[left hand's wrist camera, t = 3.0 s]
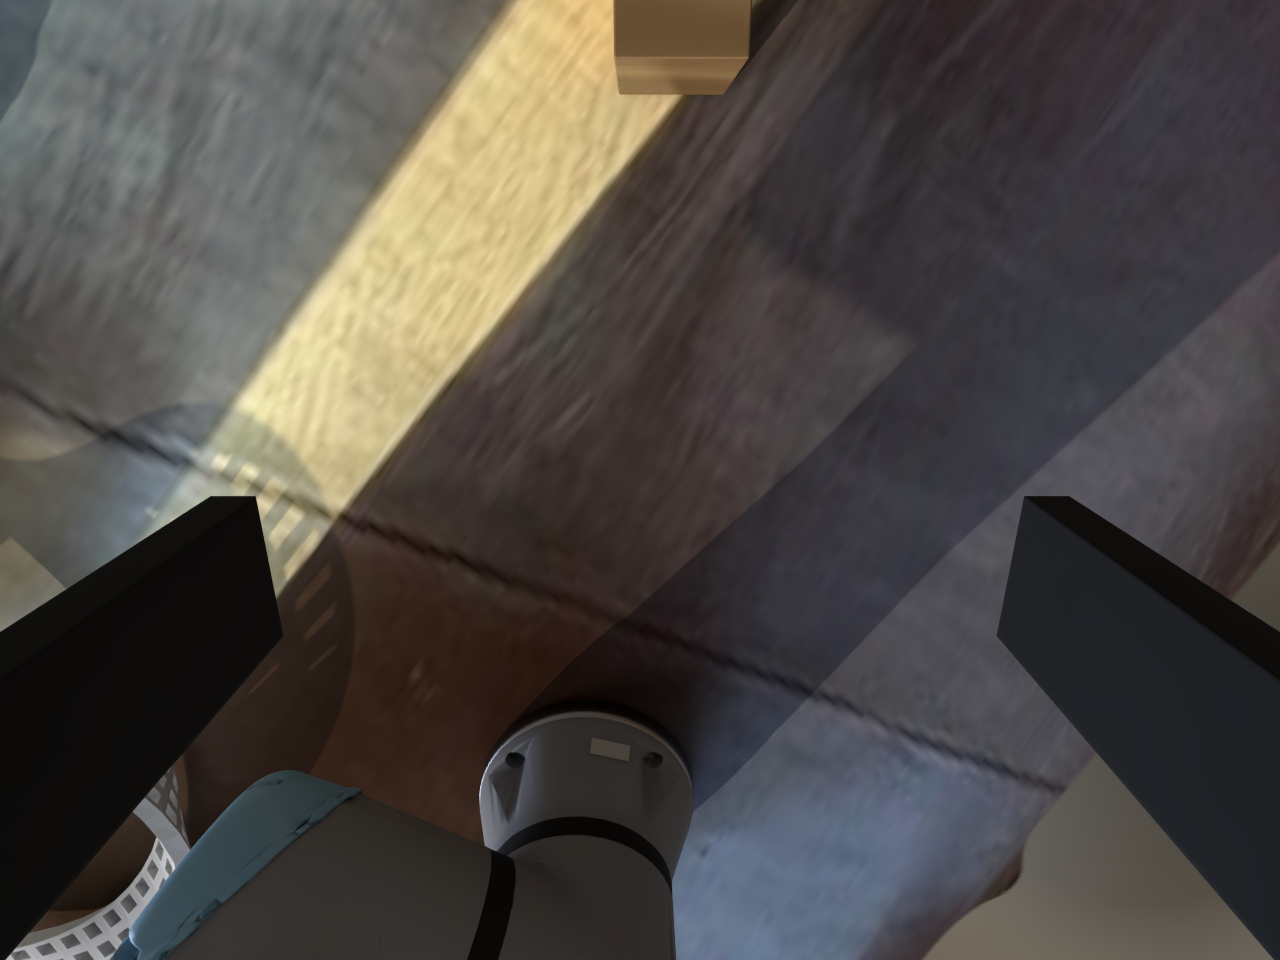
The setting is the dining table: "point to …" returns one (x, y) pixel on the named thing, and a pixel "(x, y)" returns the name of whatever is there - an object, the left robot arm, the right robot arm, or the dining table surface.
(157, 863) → the decorative object
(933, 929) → the dining table surface
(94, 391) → the dining table surface
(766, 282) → the dining table surface
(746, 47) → the bar
